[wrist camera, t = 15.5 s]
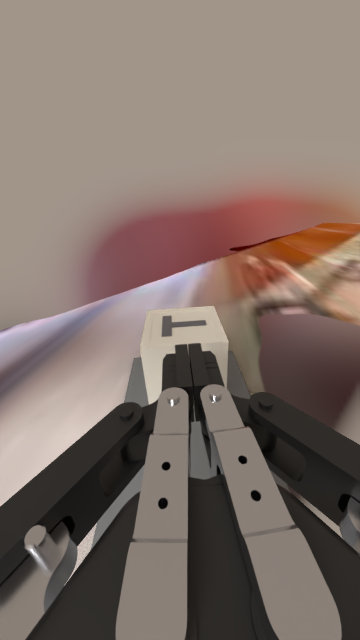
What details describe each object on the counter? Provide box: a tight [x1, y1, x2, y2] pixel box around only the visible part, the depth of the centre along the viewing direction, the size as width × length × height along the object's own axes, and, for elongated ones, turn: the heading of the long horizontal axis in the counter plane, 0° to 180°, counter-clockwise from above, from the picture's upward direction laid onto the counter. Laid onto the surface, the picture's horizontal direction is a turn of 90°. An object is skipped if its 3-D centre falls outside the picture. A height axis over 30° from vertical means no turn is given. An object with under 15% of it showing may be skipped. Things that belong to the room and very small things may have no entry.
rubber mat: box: [91, 351, 290, 549], centre depth 21 cm, size 28×14×1 cm, turn 2°
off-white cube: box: [140, 306, 229, 405], centre depth 27 cm, size 8×8×8 cm
